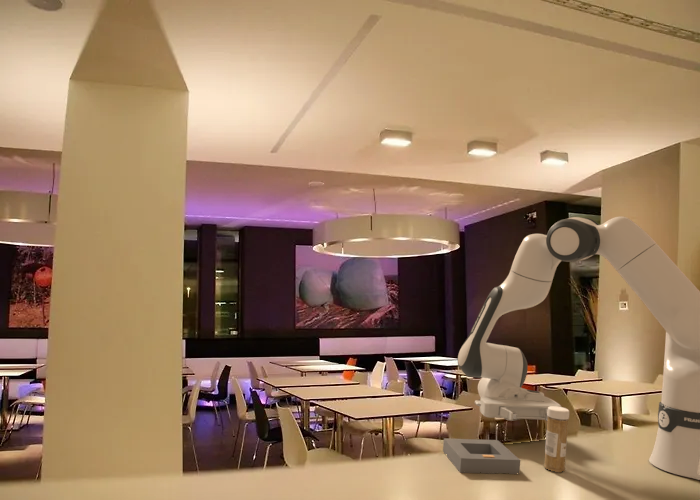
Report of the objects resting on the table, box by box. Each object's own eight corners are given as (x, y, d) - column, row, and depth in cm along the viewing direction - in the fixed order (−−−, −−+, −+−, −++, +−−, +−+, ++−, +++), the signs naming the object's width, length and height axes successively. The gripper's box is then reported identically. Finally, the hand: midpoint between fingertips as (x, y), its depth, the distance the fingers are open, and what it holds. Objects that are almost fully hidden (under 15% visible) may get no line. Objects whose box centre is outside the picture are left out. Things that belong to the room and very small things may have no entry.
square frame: (496, 452, 141) (497, 439, 141) (519, 474, 128) (520, 459, 128) (442, 451, 139) (443, 437, 139) (459, 472, 126) (461, 457, 126)
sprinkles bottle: (569, 473, 130) (573, 411, 130) (549, 472, 130) (553, 410, 130) (558, 465, 135) (563, 405, 135) (539, 465, 134) (544, 405, 134)
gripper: (473, 388, 157) (492, 402, 143) (547, 392, 159) (573, 406, 146) (471, 412, 157) (490, 429, 143) (545, 415, 159) (571, 432, 146)
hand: (532, 417), depth 144 cm, fingers open, 8 cm apart
